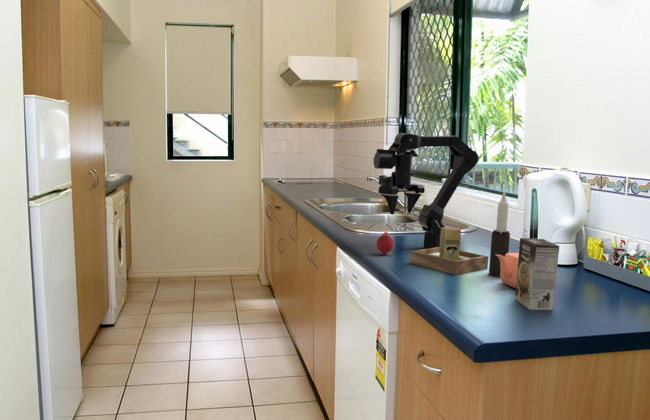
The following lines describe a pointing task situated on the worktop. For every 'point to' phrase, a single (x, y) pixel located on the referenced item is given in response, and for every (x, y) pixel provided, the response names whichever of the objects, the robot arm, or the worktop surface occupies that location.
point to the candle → (499, 238)
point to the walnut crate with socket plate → (449, 261)
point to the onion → (385, 243)
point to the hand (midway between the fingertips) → (400, 213)
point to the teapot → (509, 268)
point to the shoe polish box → (450, 243)
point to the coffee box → (536, 273)
